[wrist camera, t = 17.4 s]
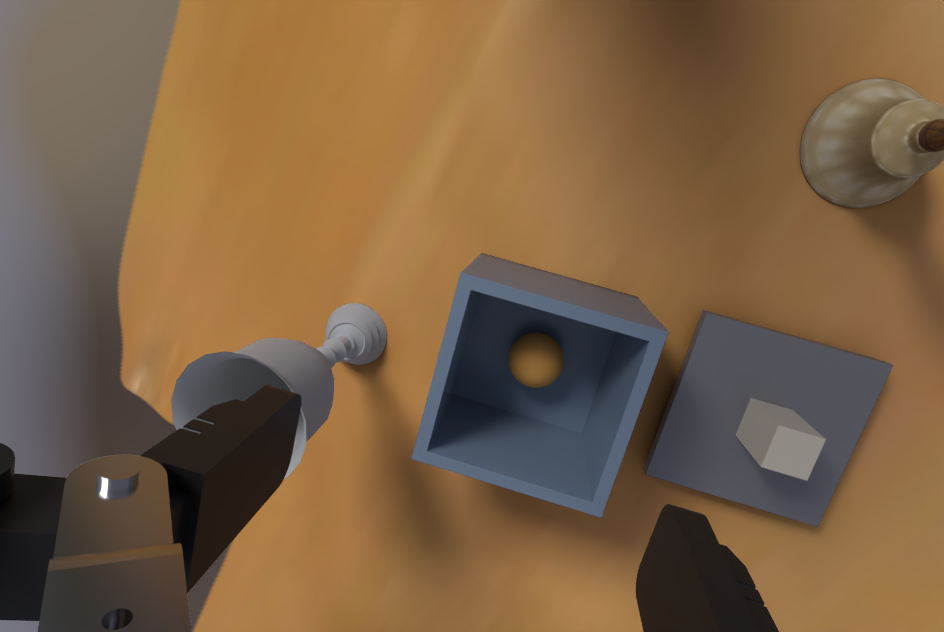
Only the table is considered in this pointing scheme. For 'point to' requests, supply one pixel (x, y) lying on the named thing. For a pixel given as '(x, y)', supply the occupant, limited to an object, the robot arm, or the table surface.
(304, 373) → the chalice
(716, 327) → the lid
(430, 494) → the table surface
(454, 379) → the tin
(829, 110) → the hand bell
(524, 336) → the ball
